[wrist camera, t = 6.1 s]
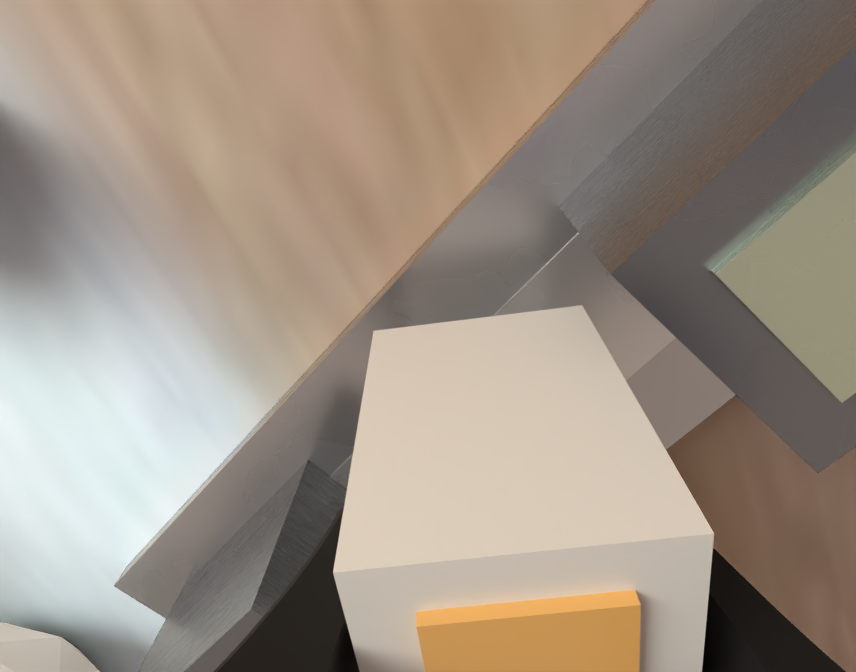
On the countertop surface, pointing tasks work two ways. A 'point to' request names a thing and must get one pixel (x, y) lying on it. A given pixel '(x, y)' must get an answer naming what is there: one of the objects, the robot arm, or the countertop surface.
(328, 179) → the countertop surface
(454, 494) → the block
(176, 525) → the rail
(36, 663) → the beige faceted rounded lump
